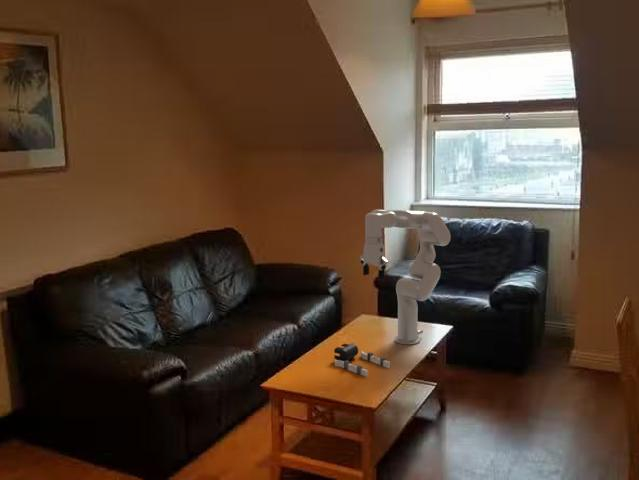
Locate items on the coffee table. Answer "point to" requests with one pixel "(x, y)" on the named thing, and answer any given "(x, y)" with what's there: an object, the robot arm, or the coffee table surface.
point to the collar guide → (358, 368)
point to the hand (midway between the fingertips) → (373, 276)
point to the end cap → (346, 352)
